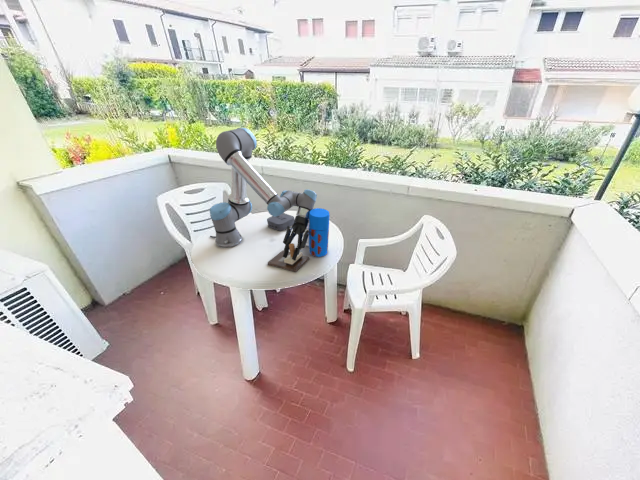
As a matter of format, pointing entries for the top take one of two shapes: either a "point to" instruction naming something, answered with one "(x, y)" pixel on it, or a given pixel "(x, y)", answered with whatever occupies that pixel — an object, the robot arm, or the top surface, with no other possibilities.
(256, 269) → the top surface
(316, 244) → the thermos
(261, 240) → the top surface
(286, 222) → the streaming box
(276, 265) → the walnut board
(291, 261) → the scrub brush
